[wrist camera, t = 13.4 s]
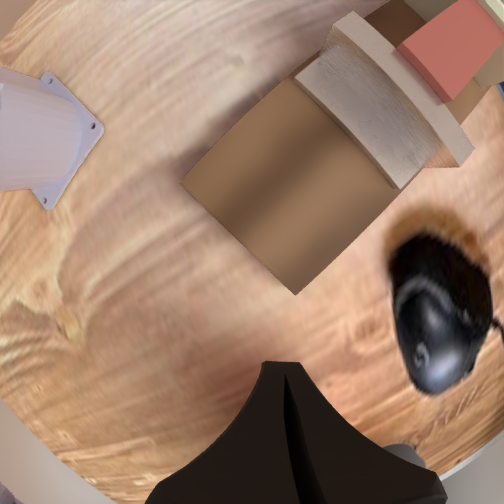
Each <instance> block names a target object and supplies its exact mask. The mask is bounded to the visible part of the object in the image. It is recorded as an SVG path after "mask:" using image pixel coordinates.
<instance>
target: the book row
mask: <svg viewBox="0 0 504 504" xmlns="http://www.w3.org/2000/svg"><path fill="white" fill-rule="evenodd" d="M403 1H404V2H405V3H407V4H408V5H409V6H410V7H411V8H412V9H413V10H414V11H415V12H416V13H417V14H419V15H420V16H421V17H422V18H423V19H424V20H425V21H426V22H427V23H428V22H429V21H430V20H432V19H433V18H434V17H436V16H437V15H438V14H440V13H441V12H443V11H444V10H445V9H447V8H448V7H449V6H451V5H452V4H454V3H455V2H457V1H458V0H403ZM477 1H478V2H479V3H480V5H481V6H482V7H483V8H484V9H485V10H486V11H487V12H488V14H489V15H490V16H491V17H492V18H493V20H494V21H495V22H496V23H497V25H498V26H499V27H500V28H501V30H502V31H503V32H504V0H477ZM473 77H474V78H475V80H476V81H477V83H478V84H479V85H480V87H481V88H485V87H488V86H491V85H494V84H497V83H500V82H503V81H504V40H503V42H502V43H501V44H500V45H499V47H498V48H497V49H496V50H495V52H494V53H493V54H492V55H491V56H490V58H489V59H488V60H487V61H486V62H485V64H484V65H483V66H482V67H481V68H480V69H479V71H478V72H477V73H476V74H475V75H474V76H473Z"/></svg>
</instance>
